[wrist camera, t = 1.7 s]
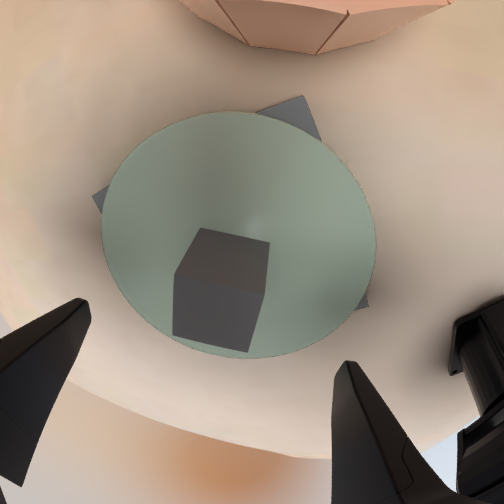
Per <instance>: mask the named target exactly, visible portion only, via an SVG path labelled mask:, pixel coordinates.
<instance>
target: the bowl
mask: <svg viewBox="0 0 504 504" xmlns="http://www.w3.org/2000/svg"><path fill="white" fill-rule="evenodd" d="M178 1H180V2H181V3H182V4H183V5H185V6H186V7H187V8H188V9H190V10H191V11H192V12H193V13H195V14H196V15H197V16H198V17H200V18H202V19H204V20H206V21H207V22H209V23H211V24H213V25H215V26H217V27H218V28H220V29H222V30H224V31H225V32H227V33H229V34H230V35H232V36H234V37H235V38H237V39H239V40H240V41H242V42H244V43H245V44H247V45H250V46H255V47H265V48H273V49H281V50H288V51H294V52H300V53H306V54H311V55H315V54H316V55H318V54H321V53H325V52H328V51H332V50H336V49H340V48H344V47H348V46H352V45H356V44H361V43H366V42H370V41H374V40H375V39H377V38H379V37H381V36H383V35H385V34H387V33H389V32H391V31H393V30H394V29H396V28H398V27H400V26H402V25H405V24H407V23H409V22H411V21H413V20H415V19H417V18H419V17H421V16H424V15H426V14H428V13H430V12H433V11H435V10H437V9H440V8H442V7H445V6H447V5H450V4H451V3H452V2H453V1H454V0H178Z"/></svg>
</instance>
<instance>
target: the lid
mask: <svg viewBox="0 0 504 504" xmlns="http://www.w3.org/2000/svg"><path fill="white" fill-rule="evenodd" d="M101 235H102V243H103V250H104V254H105V257H106V261H107V264H108V267H109V269H110V272H111V274H112V276H113V279H114V280H115V282H116V284H117V286H118V288H119V289H120V291H121V292H122V294H123V295H124V297H125V298H126V299H127V301H128V302H129V303H130V304H131V306H132V307H133V308H134V309H135V310H136V311H137V312H138V313H139V314H140V315H141V316H142V317H143V318H144V319H145V320H146V321H147V322H148V323H150V324H151V325H152V326H154V327H155V328H156V329H158V330H159V331H160V332H162V333H163V334H165V335H167V336H168V337H170V338H172V339H173V340H175V341H177V342H179V343H181V344H183V345H186V346H188V347H191V348H193V349H196V350H199V351H202V352H205V353H209V354H213V355H218V356H223V357H229V358H241V359H257V358H267V357H274V356H279V355H284V354H288V353H291V352H294V351H297V350H300V349H302V348H305V347H307V346H309V345H312V344H314V343H315V342H317V341H319V340H321V339H322V338H324V337H326V336H327V335H328V334H330V333H331V332H332V331H334V330H335V329H336V328H338V327H339V326H340V325H341V324H342V323H343V322H344V321H345V320H346V319H347V318H348V317H349V315H350V314H351V313H352V312H353V310H354V309H355V308H356V307H357V305H358V304H359V302H360V300H361V298H362V297H363V295H364V293H365V291H366V289H367V286H368V284H369V281H370V279H371V275H372V271H373V267H374V263H375V253H376V238H375V227H374V223H373V218H372V214H371V210H370V208H369V205H368V203H367V200H366V198H365V195H364V193H363V191H362V189H361V188H360V186H359V184H358V183H357V181H356V180H355V178H354V176H353V175H352V174H351V172H350V171H349V170H348V169H347V167H346V166H345V165H344V164H343V163H342V162H341V160H340V159H339V158H338V157H337V156H336V155H335V153H333V152H332V151H331V150H330V149H329V148H328V147H327V146H326V145H324V144H323V143H322V142H321V141H320V140H318V139H317V138H315V137H314V136H312V135H311V134H309V133H307V132H306V131H304V130H303V129H301V128H299V127H297V126H294V125H292V124H290V123H288V122H285V121H283V120H280V119H277V118H273V117H270V116H266V115H262V114H257V113H249V112H241V111H230V112H214V113H209V114H203V115H198V116H194V117H190V118H188V119H185V120H182V121H179V122H176V123H173V124H171V125H169V126H167V127H165V128H163V129H161V130H159V131H158V132H156V133H154V134H152V135H151V136H150V137H148V138H147V139H146V140H144V141H143V142H142V143H141V144H139V145H138V146H137V147H136V148H135V149H134V150H133V151H132V152H131V153H130V154H129V155H128V157H127V158H126V159H125V160H124V161H123V163H122V164H121V166H120V167H119V169H118V170H117V172H116V173H115V175H114V177H113V179H112V181H111V184H110V186H109V188H108V191H107V194H106V197H105V201H104V205H103V211H102V219H101Z"/></svg>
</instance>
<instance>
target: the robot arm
mask: <svg viewBox="0 0 504 504" xmlns="http://www.w3.org/2000/svg"><path fill="white" fill-rule="evenodd" d="M90 323H91V313H90V308H89V304H88V302H87V300H84V299H82V298H75V299H73V300H71V301H69V302H67V303H65V304H63V305H61V306H60V307H58V308H56V309H54V310H52V311H50V312H48V313H46V314H44V315H43V316H41V317H39V318H37V319H35V320H33V321H31V322H30V323H28V324H26V325H24V326H22V327H20V328H19V329H17V330H15V331H13V332H12V333H10V334H8V335H6V336H4V337H3V338H0V475H1V476H3V477H4V478H6V479H8V480H9V481H11V482H13V483H15V484H16V485H18V486H20V487H22V485H23V483H24V479H25V476H26V474H27V471H28V468H29V465H30V462H31V459H32V456H33V454H34V451H35V449H36V446H37V443H38V441H39V438H40V436H41V433H42V431H43V428H44V426H45V423H46V421H47V419H48V417H49V414H50V412H51V410H52V408H53V405H54V403H55V401H56V399H57V397H58V394H59V392H60V390H61V388H62V386H63V384H64V382H65V380H66V378H67V376H68V374H69V372H70V370H71V368H72V366H73V364H74V362H75V360H76V358H77V355H78V353H79V351H80V348H81V345H82V343H83V340H84V338H85V335H86V333H87V331H88V328H89V326H90ZM448 372H449V375H450V376H453V375H456V374H458V373H460V372H464V374H465V376H466V379H467V381H468V384H469V386H470V389H471V392H472V394H473V397H474V400H475V402H476V405H477V408H478V411H479V414H480V418H479V419H478V420H477V421H475V422H474V423H472V424H471V425H470V426H468V427H467V428H466V429H463V430H461V431H460V432H458V434H457V442H458V443H457V444H458V446H457V448H458V451H457V478H456V490H457V493H456V492H454V491H452V490H451V489H450V488H448V487H447V486H446V485H445V484H444V482H443V481H442V480H441V479H440V478H439V476H438V475H437V474H436V473H435V472H434V471H433V469H432V468H431V467H430V466H429V464H428V463H427V462H426V461H425V459H424V458H423V457H422V456H421V454H420V453H419V451H418V450H417V449H416V447H415V446H414V444H413V443H412V441H411V440H410V438H409V437H407V434H406V433H405V431H404V430H403V428H402V427H401V425H400V424H399V422H398V421H397V419H396V418H395V416H394V415H393V413H392V412H391V411H390V409H389V408H388V406H387V405H386V403H385V402H384V400H383V399H382V397H381V396H380V395H379V393H378V392H377V390H376V389H375V387H374V386H373V384H372V383H371V382H370V380H369V379H368V377H367V376H366V374H365V373H364V372H363V370H362V369H361V367H360V366H359V364H358V363H357V362H355V361H344V363H343V364H342V365H341V367H340V368H339V370H338V371H337V373H336V375H335V378H334V389H333V402H332V415H331V430H332V497H331V500H332V501H331V504H504V299H503V300H501V301H499V302H497V303H495V304H492V305H490V306H488V307H486V308H484V309H482V310H479V311H477V312H475V313H473V314H470V315H468V316H466V317H463V318H461V319H459V320H458V321H457V322H456V323H455V325H454V333H453V341H452V349H451V356H450V362H449V368H448ZM0 504H7V503H6V501H5V498H4V495H3V492H2V490H1V487H0Z"/></svg>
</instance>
